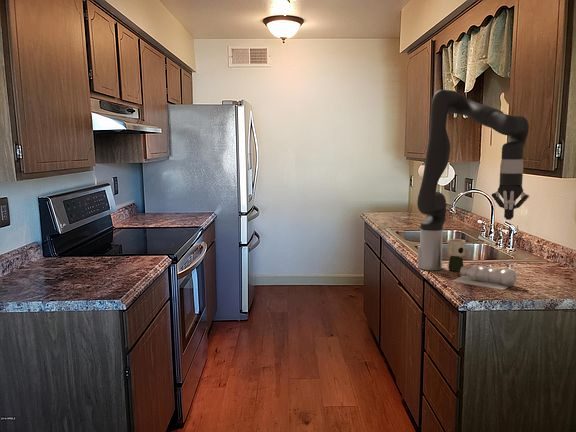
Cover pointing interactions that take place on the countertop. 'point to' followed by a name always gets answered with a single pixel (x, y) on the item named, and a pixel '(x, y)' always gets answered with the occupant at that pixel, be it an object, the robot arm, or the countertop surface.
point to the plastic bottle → (490, 274)
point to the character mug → (456, 253)
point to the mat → (480, 283)
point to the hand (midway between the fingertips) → (508, 219)
